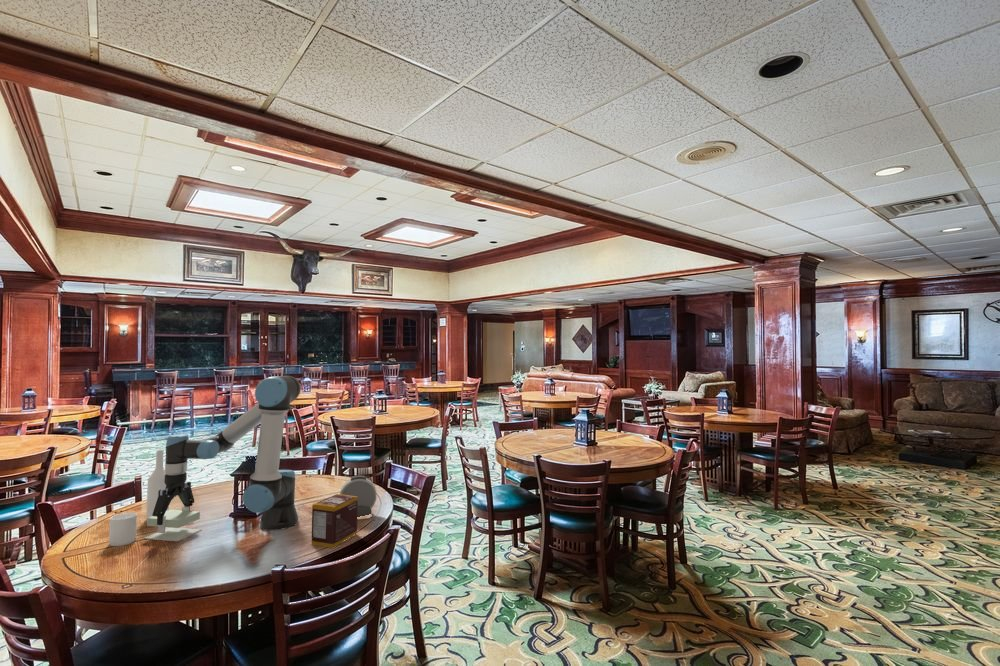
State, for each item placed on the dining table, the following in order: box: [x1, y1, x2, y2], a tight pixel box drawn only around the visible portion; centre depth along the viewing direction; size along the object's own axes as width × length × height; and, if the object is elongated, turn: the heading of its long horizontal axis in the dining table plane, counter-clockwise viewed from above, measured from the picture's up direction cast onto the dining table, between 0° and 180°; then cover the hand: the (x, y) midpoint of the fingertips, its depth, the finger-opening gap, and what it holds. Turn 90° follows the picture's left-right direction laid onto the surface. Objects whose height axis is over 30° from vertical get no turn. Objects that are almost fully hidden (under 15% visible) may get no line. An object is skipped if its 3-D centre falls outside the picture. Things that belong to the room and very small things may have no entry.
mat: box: [144, 527, 202, 542], centre depth 194 cm, size 15×12×1 cm
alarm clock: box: [339, 474, 378, 517], centre depth 218 cm, size 16×10×18 cm, turn 108°
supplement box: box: [311, 493, 358, 549], centre depth 191 cm, size 10×15×16 cm
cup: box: [108, 512, 138, 547], centre depth 188 cm, size 8×12×10 cm
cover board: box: [146, 509, 201, 528], centre depth 195 cm, size 14×11×3 cm
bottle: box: [145, 449, 170, 521], centre depth 214 cm, size 8×8×30 cm
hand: (173, 527), depth 195 cm, fingers closed on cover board, 11 cm apart
